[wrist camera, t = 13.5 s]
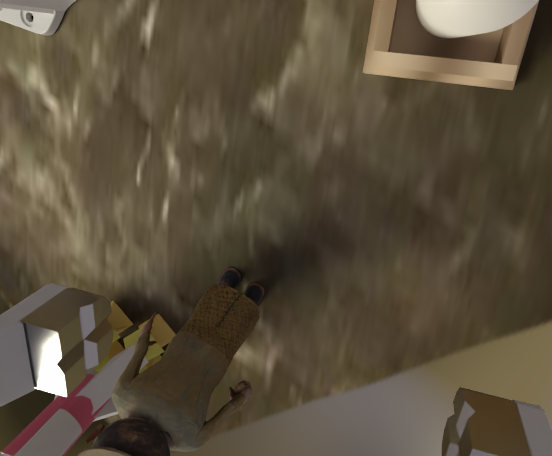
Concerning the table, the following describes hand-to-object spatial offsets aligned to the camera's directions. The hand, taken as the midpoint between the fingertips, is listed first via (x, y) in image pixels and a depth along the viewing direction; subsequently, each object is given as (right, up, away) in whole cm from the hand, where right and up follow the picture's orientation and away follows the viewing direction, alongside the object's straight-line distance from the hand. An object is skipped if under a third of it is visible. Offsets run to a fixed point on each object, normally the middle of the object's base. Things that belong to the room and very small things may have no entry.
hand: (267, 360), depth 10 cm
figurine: (-4, -5, +38) cm, 39 cm away
